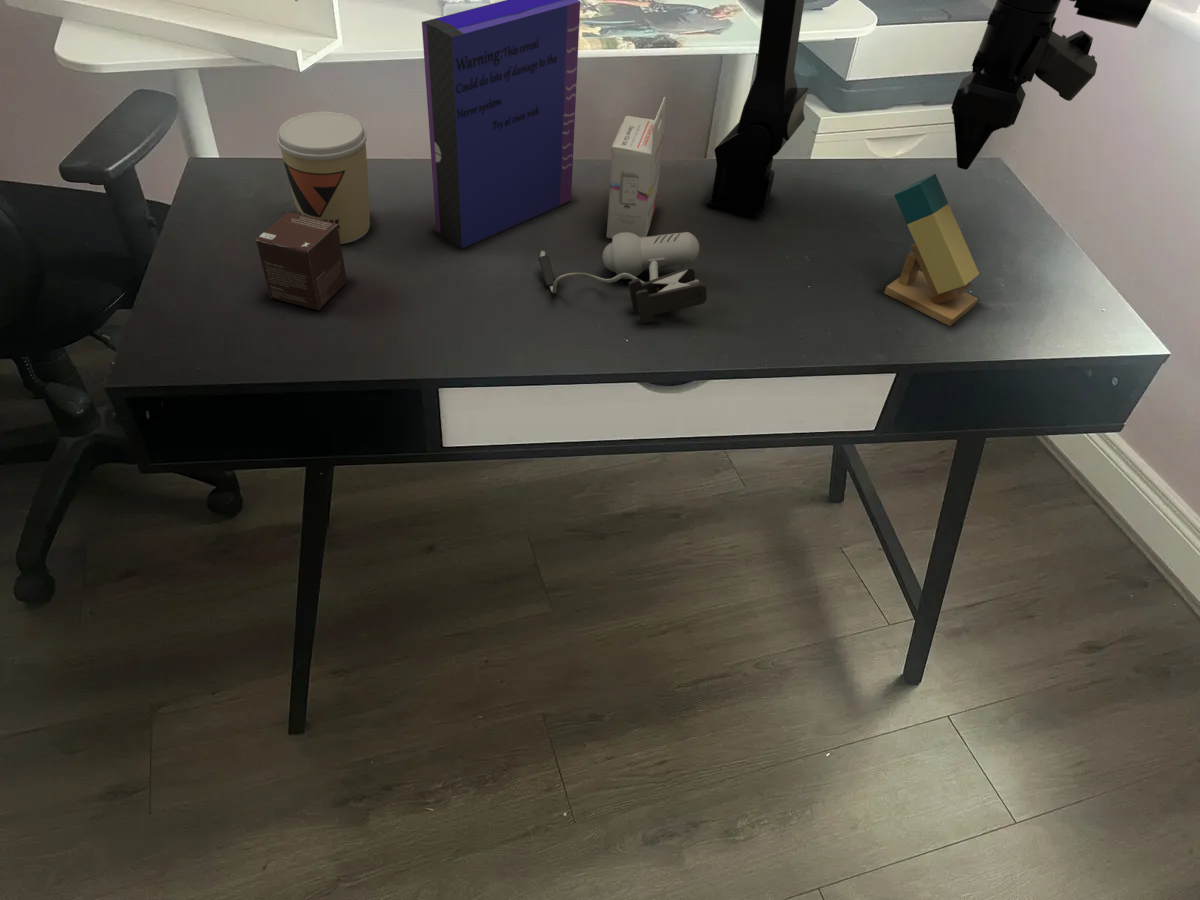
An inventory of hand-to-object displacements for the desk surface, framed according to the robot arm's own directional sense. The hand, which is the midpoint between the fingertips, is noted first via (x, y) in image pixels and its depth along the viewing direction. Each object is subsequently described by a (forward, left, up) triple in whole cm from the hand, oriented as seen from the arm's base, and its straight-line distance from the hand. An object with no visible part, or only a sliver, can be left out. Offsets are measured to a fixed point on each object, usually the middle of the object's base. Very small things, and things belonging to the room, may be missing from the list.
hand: (969, 151), depth 100 cm
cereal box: (-49, -17, -14) cm, 54 cm away
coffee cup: (-65, -29, -14) cm, 72 cm away
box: (-60, -41, -14) cm, 74 cm away
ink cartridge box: (-35, -11, -14) cm, 39 cm away
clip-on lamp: (-31, -25, -14) cm, 42 cm away
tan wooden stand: (+1, -9, -14) cm, 17 cm away
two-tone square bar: (0, -9, -6) cm, 10 cm away
